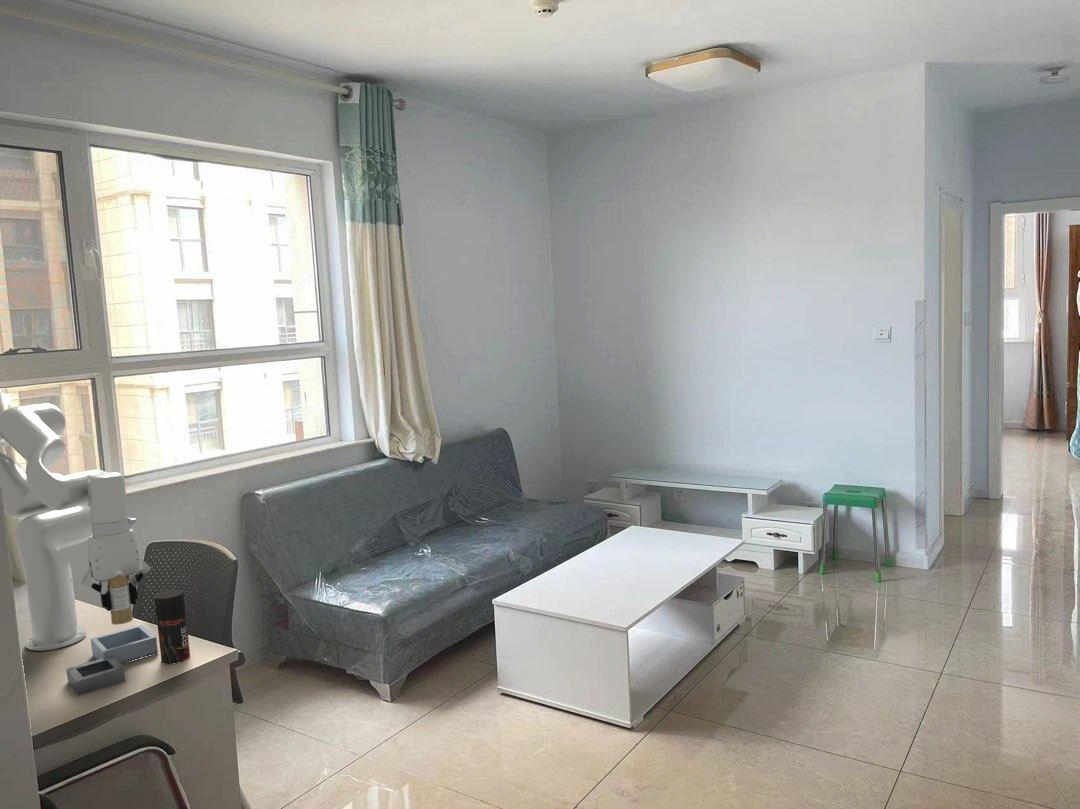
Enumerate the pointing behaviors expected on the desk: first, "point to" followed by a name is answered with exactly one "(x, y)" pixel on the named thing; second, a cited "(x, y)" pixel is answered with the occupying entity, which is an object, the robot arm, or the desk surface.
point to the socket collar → (95, 675)
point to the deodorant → (172, 626)
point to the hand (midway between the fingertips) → (120, 605)
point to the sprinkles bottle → (120, 599)
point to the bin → (125, 644)
